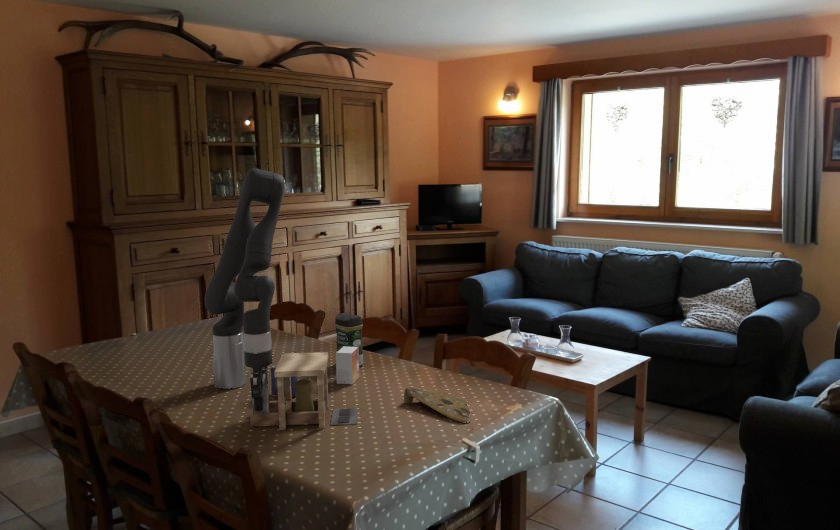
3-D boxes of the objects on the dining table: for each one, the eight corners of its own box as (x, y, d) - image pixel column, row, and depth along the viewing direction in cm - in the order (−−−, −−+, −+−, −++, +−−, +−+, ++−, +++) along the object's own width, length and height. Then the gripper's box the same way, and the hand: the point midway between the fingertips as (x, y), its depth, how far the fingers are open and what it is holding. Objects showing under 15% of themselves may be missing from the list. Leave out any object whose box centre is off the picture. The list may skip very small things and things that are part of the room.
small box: (352, 385, 215) (351, 353, 213) (336, 384, 216) (335, 352, 214) (360, 377, 223) (359, 346, 221) (343, 376, 224) (342, 345, 222)
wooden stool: (277, 431, 178) (274, 371, 176) (285, 408, 195) (282, 353, 193) (356, 427, 180) (354, 368, 177) (357, 405, 196) (355, 351, 194)
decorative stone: (400, 402, 198) (403, 386, 198) (438, 398, 208) (441, 383, 208) (456, 437, 180) (460, 419, 179) (495, 430, 190) (498, 414, 189)
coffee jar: (332, 364, 237) (330, 313, 234) (350, 360, 242) (348, 310, 240) (349, 370, 230) (348, 317, 227) (367, 365, 236) (366, 314, 233)
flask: (300, 394, 206) (299, 361, 205) (296, 398, 204) (295, 364, 202) (273, 392, 209) (272, 359, 207) (269, 395, 206) (267, 362, 204)
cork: (295, 414, 190) (293, 377, 188) (316, 413, 190) (315, 376, 189) (293, 423, 184) (291, 384, 182) (315, 422, 184) (313, 383, 183)
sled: (250, 426, 181) (248, 394, 179) (257, 411, 191) (255, 381, 190) (323, 423, 182) (322, 391, 181) (326, 408, 193) (324, 378, 191)
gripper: (248, 341, 190) (251, 397, 192) (238, 355, 176) (242, 416, 178) (275, 340, 190) (278, 396, 193) (267, 354, 176) (270, 415, 179)
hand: (260, 406), depth 186 cm, fingers open, 6 cm apart
